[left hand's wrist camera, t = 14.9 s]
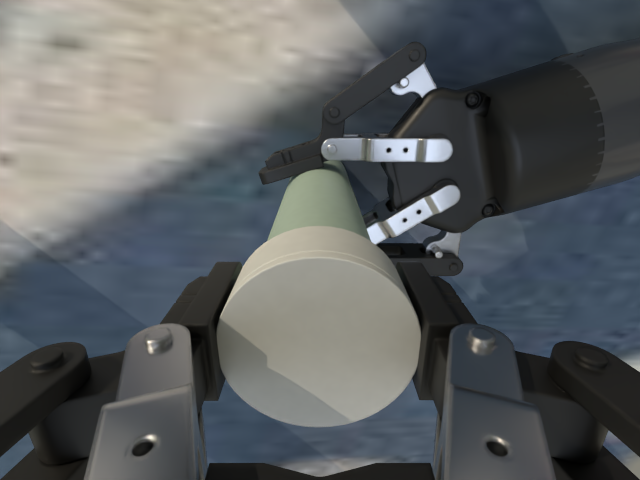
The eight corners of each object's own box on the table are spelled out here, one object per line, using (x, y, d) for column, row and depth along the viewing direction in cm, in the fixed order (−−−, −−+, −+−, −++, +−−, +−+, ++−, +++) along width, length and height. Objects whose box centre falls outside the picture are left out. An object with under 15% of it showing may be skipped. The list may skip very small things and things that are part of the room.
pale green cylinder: (348, 152, 27) (408, 264, 9) (345, 206, 29) (390, 398, 10) (292, 150, 27) (234, 258, 9) (292, 204, 29) (241, 393, 10)
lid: (252, 205, 10) (234, 232, 8) (428, 249, 10) (455, 286, 8) (221, 353, 11) (201, 407, 9) (372, 385, 12) (383, 443, 10)
